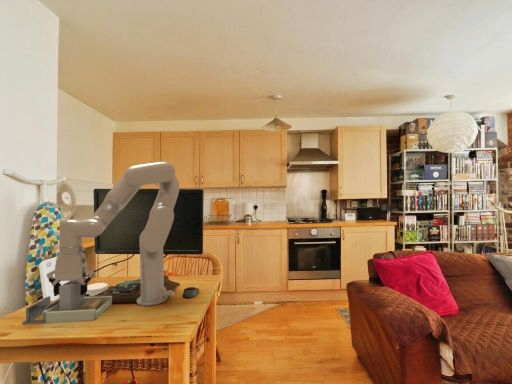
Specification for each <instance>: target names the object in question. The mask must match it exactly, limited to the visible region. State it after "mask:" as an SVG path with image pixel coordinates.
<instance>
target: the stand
mask: <svg viewBox="0 0 512 384" xmlns="http://www.w3.org/2000/svg"><path fill="white" fill-rule="evenodd" d="M58 303H59V298H58V299H56V300H55V301H53V302H51V296H49V295H48V296H47V297H44V298H42V299H41V300H38V301H37V302H35V303H33V304H31V305H30V306H27V307H26V308H25V320H24V321H22V322H21V323H22V325H34V324H35V325H36V324H37V325H39V324H45V321H43V319H39V320H38V319H36V318H38V317H39V316H41V315H43V311H45V310H48V309H50V308H51V307H53V306H55V305H56V304H58Z"/></svg>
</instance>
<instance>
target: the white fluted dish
mask: <svg viewBox="0 0 512 384" xmlns="http://www.w3.org/2000/svg"><path fill="white" fill-rule="evenodd" d="M107 289H108V290H109V284H108V283H106V282H97V283H91V284H89V285H88V284H87V292H86V294H89V295H90V296H89V297H96V296H95V295H97V294H99V293H101V292H103V291H105V290H107Z"/></svg>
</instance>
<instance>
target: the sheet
mask: <svg viewBox="0 0 512 384" xmlns="http://www.w3.org/2000/svg"><path fill="white" fill-rule="evenodd" d="M81 285H82V284H81V282H80V281H79V280H73V281H68V282H65V283H63V284H61V286H59V295H58V296H59V297H58V299H59V311H71V310H82V306H83V305H84V303H83V297H84V295H80V286H81Z"/></svg>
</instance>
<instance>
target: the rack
mask: <svg viewBox="0 0 512 384" xmlns="http://www.w3.org/2000/svg"><path fill="white" fill-rule="evenodd" d="M90 299H101V304H103V305H102V306H101V307H100V308H99V309H97V310H96V309H90V310H71V311H59V303H58V304H56V305H55V306H53V307H51V308H50V309H48V310H45V311H43V314H42V320H43V321H45V323H46V324H48V323H49V324H50V323H63V322H66V323H67V322H81V321H82V322H84V321H85V322H86V321H95V320H96V319H98V317H100V316H101V315H103V314H104V312H106V310H108V309H109V308H110V307H111V306H112V305H113V295H105V296H104V295H103V296H101V295H98V296H83V303H84V304H85V303H87V302H88V301H89V300H90ZM45 323H44V324H45Z"/></svg>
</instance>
